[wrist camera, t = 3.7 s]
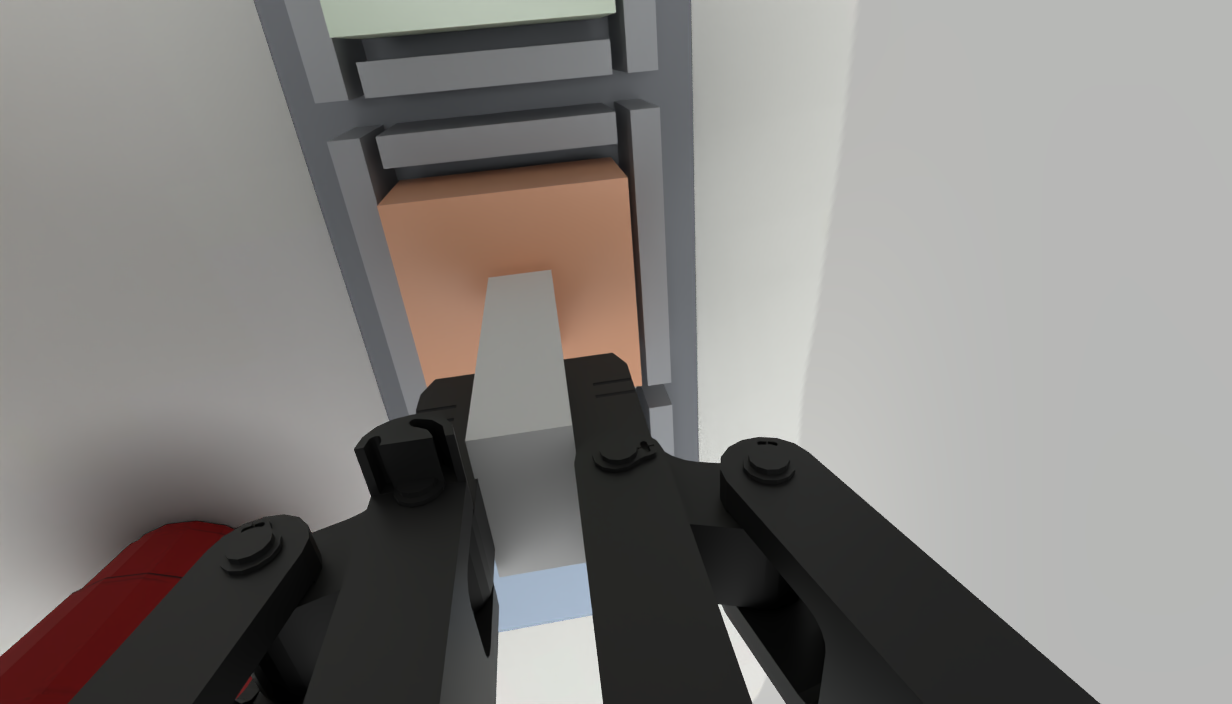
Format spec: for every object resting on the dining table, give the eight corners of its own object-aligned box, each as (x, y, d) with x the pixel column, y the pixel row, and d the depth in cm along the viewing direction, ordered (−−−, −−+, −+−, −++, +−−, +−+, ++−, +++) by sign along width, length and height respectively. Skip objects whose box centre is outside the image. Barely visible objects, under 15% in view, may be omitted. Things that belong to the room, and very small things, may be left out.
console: (-106, -1191, 9) (-506, -1981, 5) (657, -1119, 10) (731, -1740, 7) (442, 558, 27) (430, 635, 23) (694, 515, 28) (719, 582, 25)
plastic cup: (335, 472, 24) (193, 804, 13) (343, 646, 29) (241, 993, 18) (22, 458, 22) (-443, 846, 11) (86, 650, 26) (-199, 1049, 16)
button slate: (467, 450, 21) (460, 508, 18) (632, 424, 21) (648, 477, 19) (497, 568, 24) (494, 633, 21) (641, 542, 24) (657, 603, 22)
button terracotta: (399, 180, 16) (376, 206, 14) (610, 157, 17) (627, 177, 14) (446, 365, 19) (435, 416, 17) (625, 340, 20) (642, 385, 17)
